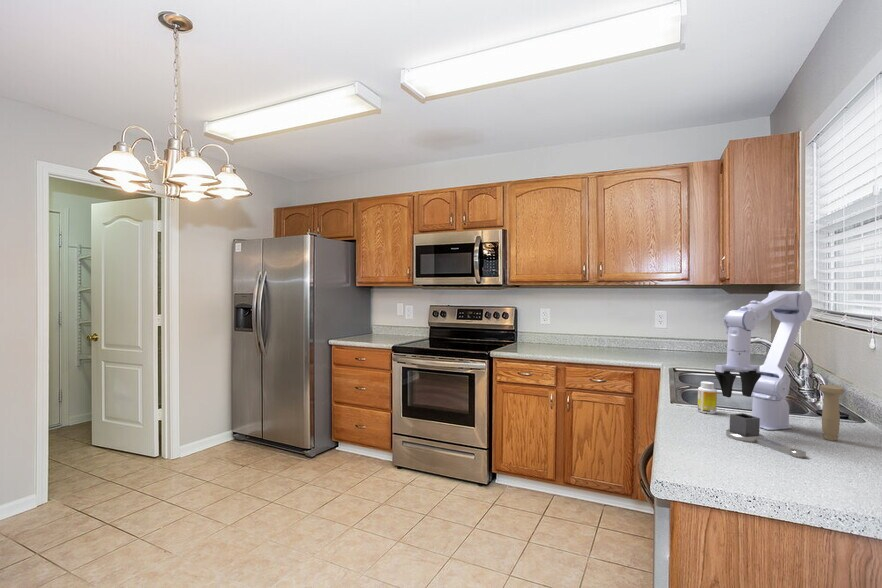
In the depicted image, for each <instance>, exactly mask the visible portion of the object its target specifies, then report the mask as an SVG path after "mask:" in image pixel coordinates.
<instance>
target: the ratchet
mask: <svg viewBox="0 0 882 588" xmlns="http://www.w3.org/2000/svg"><path fill="white" fill-rule="evenodd" d="M725 430H726V431H725V435H726V437H728V436H729V437H728V438H730V437H731V438H730V439H732V438H733V440H736V441H739V440H740V442H744V443H751V442H752V444H753V443H754V444H758V445H761V446H764V447H766V448H770V449H772V450H775V451H776V452H777V451H778V452H781V453H784V454H786V455H790V456H791V457H794V458H798V459H806V458H807V451H804V450H802V449H797V448H795V447H792V446H789V445H786V444H783V443H780V442H777V441H774V440H772V439H768V438H765V436H764V435H763V434H760V433H759V436H752V437H744V436H741V435H738V434H735V433H732V432H730V428H728V429H725Z"/></svg>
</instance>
